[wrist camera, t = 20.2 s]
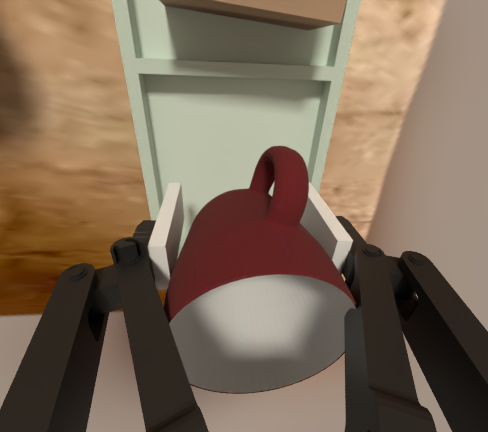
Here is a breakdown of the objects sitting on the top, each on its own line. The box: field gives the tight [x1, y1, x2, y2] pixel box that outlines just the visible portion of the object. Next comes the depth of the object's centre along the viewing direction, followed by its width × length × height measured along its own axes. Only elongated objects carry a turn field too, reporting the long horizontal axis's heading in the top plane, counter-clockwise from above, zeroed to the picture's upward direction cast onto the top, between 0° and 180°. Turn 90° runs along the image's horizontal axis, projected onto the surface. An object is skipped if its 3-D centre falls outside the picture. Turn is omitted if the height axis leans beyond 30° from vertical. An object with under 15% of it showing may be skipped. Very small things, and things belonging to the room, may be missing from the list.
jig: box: [111, 0, 361, 259], centre depth 19 cm, size 14×26×2 cm, turn 178°
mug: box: [164, 146, 357, 394], centre depth 14 cm, size 10×8×10 cm
